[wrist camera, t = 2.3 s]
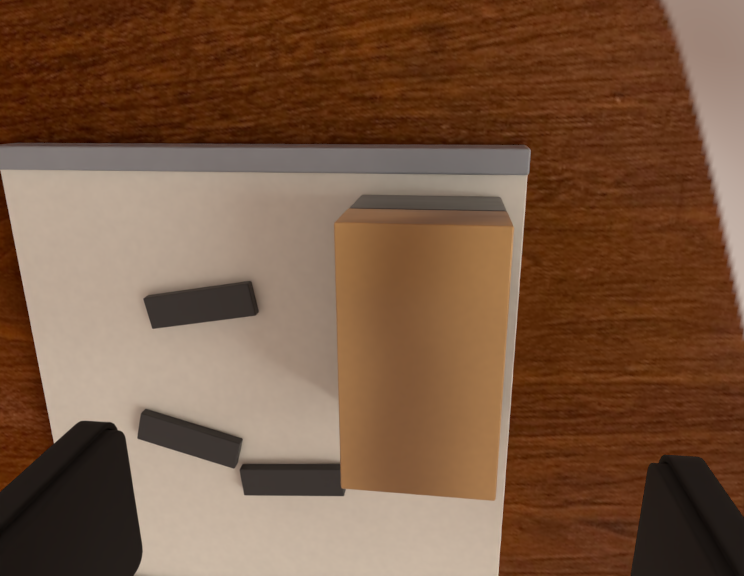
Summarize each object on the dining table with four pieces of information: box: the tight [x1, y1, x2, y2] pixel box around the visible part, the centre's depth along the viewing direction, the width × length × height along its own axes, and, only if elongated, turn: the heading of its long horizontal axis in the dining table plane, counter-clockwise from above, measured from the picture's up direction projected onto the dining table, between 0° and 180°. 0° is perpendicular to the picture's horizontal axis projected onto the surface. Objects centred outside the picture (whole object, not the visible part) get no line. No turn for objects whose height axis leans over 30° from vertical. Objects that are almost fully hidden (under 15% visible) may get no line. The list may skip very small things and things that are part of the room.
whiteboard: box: [0, 143, 531, 576], centre depth 23 cm, size 18×19×1 cm
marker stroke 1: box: [143, 281, 259, 329], centre depth 21 cm, size 4×1×1 cm, turn 100°
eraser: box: [334, 195, 514, 501], centre depth 18 cm, size 4×8×4 cm, turn 0°
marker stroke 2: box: [137, 409, 243, 469], centre depth 23 cm, size 4×1×1 cm, turn 75°
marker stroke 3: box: [240, 464, 346, 496], centre depth 23 cm, size 4×1×1 cm, turn 95°
